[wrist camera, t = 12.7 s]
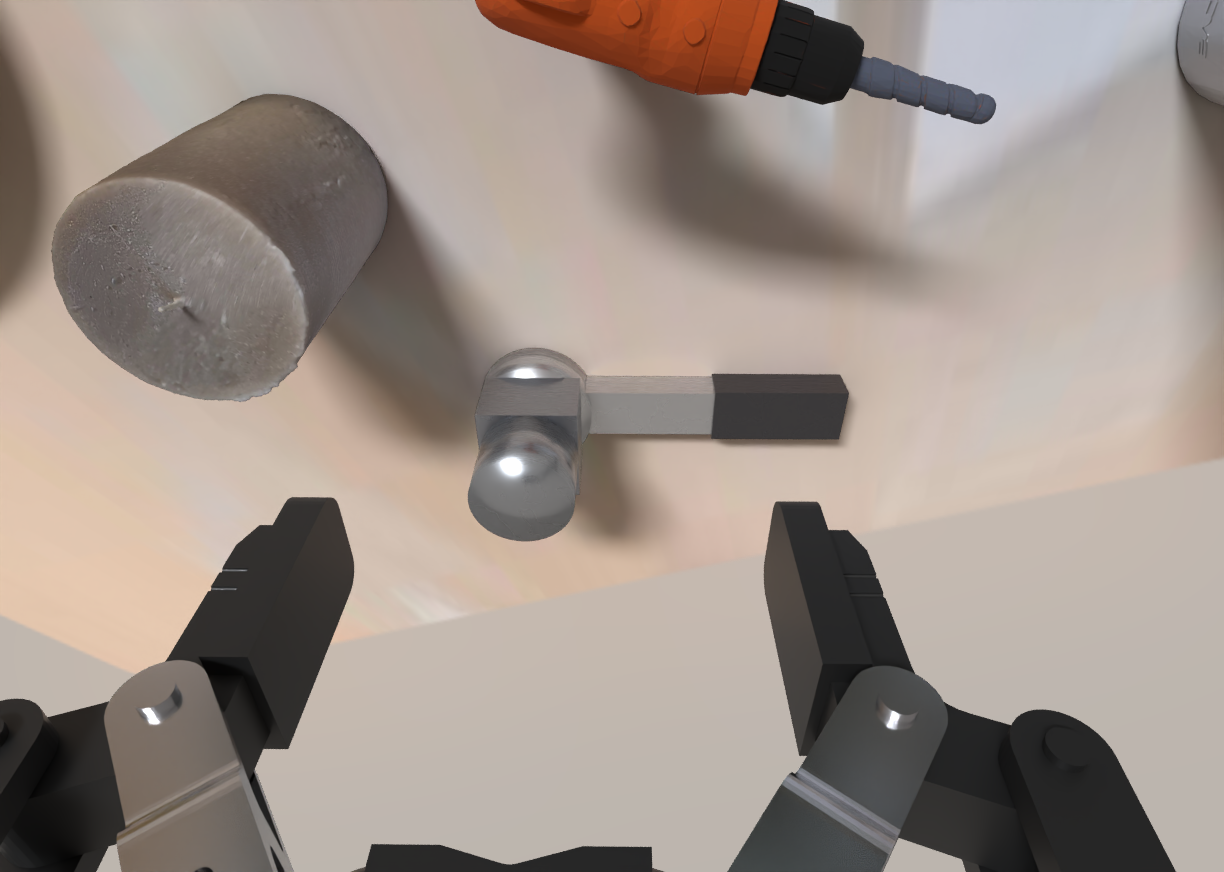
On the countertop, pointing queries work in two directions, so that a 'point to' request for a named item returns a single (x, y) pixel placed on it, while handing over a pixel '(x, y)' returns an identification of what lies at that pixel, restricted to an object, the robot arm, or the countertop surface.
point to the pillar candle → (223, 247)
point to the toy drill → (730, 49)
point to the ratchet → (694, 401)
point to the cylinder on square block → (527, 456)
